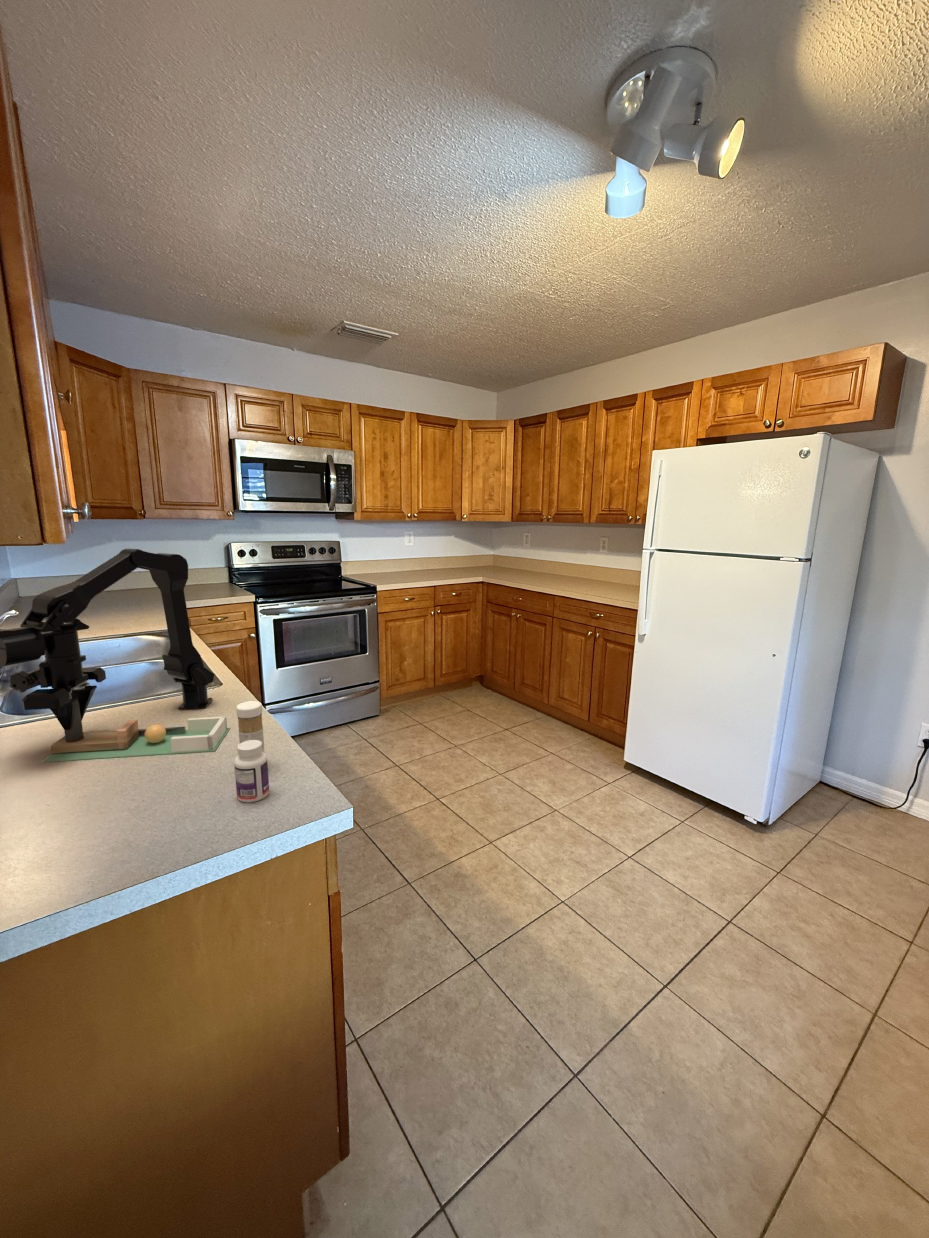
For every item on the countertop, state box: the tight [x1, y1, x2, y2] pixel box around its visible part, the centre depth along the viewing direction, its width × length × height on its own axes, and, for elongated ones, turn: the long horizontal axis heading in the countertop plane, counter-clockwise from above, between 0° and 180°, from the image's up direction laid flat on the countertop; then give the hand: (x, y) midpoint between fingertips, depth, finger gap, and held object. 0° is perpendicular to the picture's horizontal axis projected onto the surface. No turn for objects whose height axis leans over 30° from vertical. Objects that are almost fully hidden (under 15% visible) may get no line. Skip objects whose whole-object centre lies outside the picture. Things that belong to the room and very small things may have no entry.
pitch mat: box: [41, 727, 231, 763], centre depth 108 cm, size 12×32×1 cm, turn 101°
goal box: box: [171, 716, 228, 752], centre depth 110 cm, size 11×8×3 cm
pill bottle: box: [233, 740, 270, 803], centre depth 88 cm, size 5×5×10 cm
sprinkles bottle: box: [236, 700, 265, 753], centre depth 97 cm, size 5×5×14 cm
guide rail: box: [83, 726, 187, 737], centre depth 111 cm, size 1×24×2 cm, turn 101°
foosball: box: [145, 724, 166, 743], centre depth 108 cm, size 4×4×4 cm
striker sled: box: [49, 701, 140, 754], centre depth 105 cm, size 6×14×10 cm, turn 101°
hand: (73, 725), depth 105 cm, fingers open, 4 cm apart
